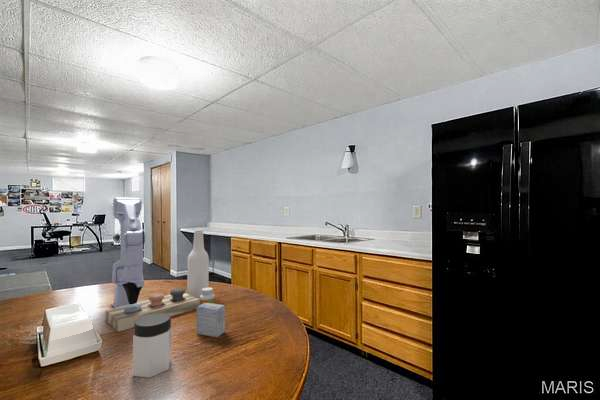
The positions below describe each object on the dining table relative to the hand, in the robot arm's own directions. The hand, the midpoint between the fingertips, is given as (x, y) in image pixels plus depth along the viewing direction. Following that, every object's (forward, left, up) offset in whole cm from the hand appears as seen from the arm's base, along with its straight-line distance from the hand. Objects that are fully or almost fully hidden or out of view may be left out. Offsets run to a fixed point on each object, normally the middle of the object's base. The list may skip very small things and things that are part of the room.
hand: (132, 303), depth 98 cm
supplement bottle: (+15, +20, -6) cm, 26 cm away
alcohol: (-6, +28, -6) cm, 29 cm away
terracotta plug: (0, +8, -4) cm, 9 cm away
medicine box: (+29, +13, -6) cm, 32 cm away
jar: (+35, -7, -6) cm, 36 cm away
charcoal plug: (0, +16, -4) cm, 16 cm away
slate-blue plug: (0, 0, -6) cm, 6 cm away
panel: (-1, +8, -6) cm, 10 cm away
